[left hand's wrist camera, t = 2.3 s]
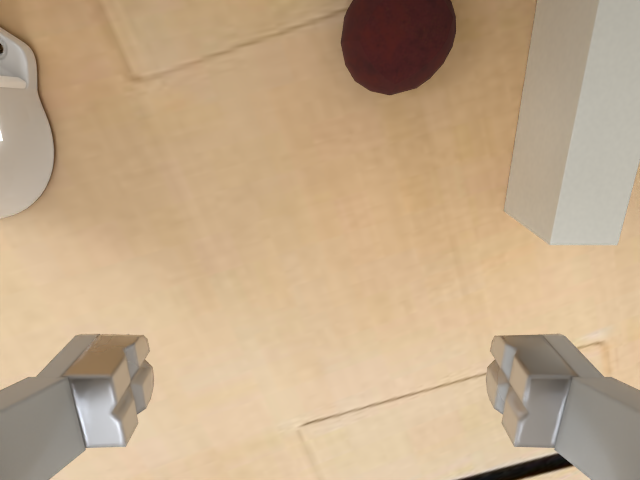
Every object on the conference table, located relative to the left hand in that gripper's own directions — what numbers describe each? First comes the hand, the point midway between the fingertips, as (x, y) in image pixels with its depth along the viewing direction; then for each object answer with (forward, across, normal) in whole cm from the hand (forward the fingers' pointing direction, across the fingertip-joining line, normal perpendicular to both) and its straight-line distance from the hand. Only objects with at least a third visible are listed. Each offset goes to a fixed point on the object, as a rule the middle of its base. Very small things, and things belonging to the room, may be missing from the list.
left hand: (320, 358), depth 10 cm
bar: (+27, -18, -9) cm, 34 cm away
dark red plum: (+27, -5, -9) cm, 29 cm away
